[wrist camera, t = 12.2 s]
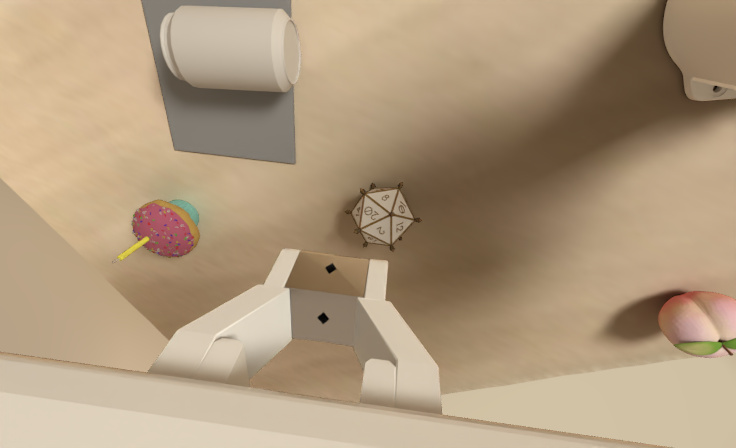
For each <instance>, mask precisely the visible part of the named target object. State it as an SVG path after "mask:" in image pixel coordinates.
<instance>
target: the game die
mask: <svg viewBox="0 0 736 448" xmlns="http://www.w3.org/2000/svg"><path fill="white" fill-rule="evenodd" d="M402 186H403V182H402V183H399V185H398V188H375V187H376V186H375V185H374V184H373V183H372V185H371V187H372V188H373V189H372V190H370V191H368V192H366V193H365V190H364V189H360V193H361V194H363V195H362V197H361V198H360V200H359V201H358V203H357V204H356V205H355V207H354V208H353V210H352V211H350V210H347V211H345V212H346V213H347V214H351V215H352V217H353V219H354V221H355V223H356V225H357V227H358V229H356V230H355V232H354V233H357V234H358V233H359V232H360V233H361V235H362V236H363V238H364V240H365V241H366V242H365V243H364V244H363V248H364V247H367V245H368V243H373V244H381V245H388V246H390V250H391V251H392V252H394V246H393V244H394V243H395V242H396V241H397V240H398V239H399V240H402V237H401V235H402V234H403V233H404V232H405V231H406V230H407V229H408V228H409V227H410V226H411V225H412V224H413V222H414V221H416V222H421V221H422V220H421V219H420V218H416V219H415V218H414V216H413V214H412V212H411V210H410V208H409V206H408V204H407V201H406V200H405V198H404V196H403V194H402V192H401V190H400V188H402Z"/></svg>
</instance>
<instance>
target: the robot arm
mask: <svg viewBox="0 0 736 448" xmlns="http://www.w3.org/2000/svg"><path fill="white" fill-rule="evenodd" d="M663 35H664V41H665V45H666V48H667V51H668V53H669V55H670V57H671V58H672V60H673V61H674V62H675V63H676V65H677V66H678V67H679V68H680V70H681V71H682V74H683V81H684V89H685V93H686V96H687V97H688V98H689V99H691V100H696V101H710V100H722V99H734V98H736V0H668V1H667V4H666V9H665V13H664V21H663ZM714 86H717V88H716V89H715V90H713V88H714ZM369 261H370V262H369ZM387 271H388V261H387V260H377V259H363V258H355V257H347V256H338V255H333V254H326V253H319V252H312V251H306V250H298V249H290V248H284V249H282V250H281V252H280V253H279V255H278V257H277V259H276V261H275V263H274V265H273V267H272V269H271V271H270V273H269V275H268V276H267V278H266V280H265V282H264V284H263V285H260V284H258V285H256V286H254V287H252V288H251V289H249V290H247V291H245V292H243V293H242V294H240V295H238V296H236V297H235V298H233V299H231V300H229V301H228V302H226V303H224V304H222V305H221V306H219V307H217V308H215V309H214V310H212V311H210V312H208V313H207V314H205V315H203V316H201V317H200V318H198V319H196V320H194V321H193V322H191V323H189V324H187V325H185V326H184V327H182V328H180V329H178V330H177V331H176V333H175V334H174V335H173V337H172V338H171V340H170V341H169V343H168V344H167V345H166V347H165V348H164V350H163V351H162V352H161V354H160V355H159V357H158V358H157V359H156V361H155V362H154V363H153V365H152V366H151V368H150V369H149V370H148V372H147V373H146V372H139V371H132V370H124V369H118V368H110V367H104V366H97V365H90V364H82V363H75V362H68V361H61V360H54V359H47V358H40V357H33V356H26V355H19V354H12V353H5V352H0V448H672V447H664V446H657V445H650V444H643V443H636V442H629V441H622V440H615V439H608V438H601V437H595V436H587V435H580V434H573V433H566V432H559V431H553V430H546V429H539V428H531V427H524V426H517V425H511V424H504V423H497V422H489V421H483V420H476V419H468V418H462V417H455V416H448V415H442V407H441V394H440V381H439V369H438V365H437V364H436V363H435V361H434V360H433V359H432V357H431V356H430V355H429V353H428V352H427V351H426V349H425V348H424V346H423V345H422V344H421V342H420V341H419V340H418V338H417V337H416V336H415V334H414V333H413V332H412V330H411V329H410V328H409V326H408V325H407V323H406V322H405V321H404V319H403V318H402V317H401V315H400V314H399V313H398V311H397V310H396V309H395V307H394V306H393V304H392V303H391V302H390V301H385V296H386V283H387ZM292 338H293V339H303V340H312V341H321V342H328V343H334V344H340V345H346V346H352V347H353V349H354V351H355V353H356V356H357V358H358V360H359V362H360V364H361V367H362V369H363V371H364V376H363V383H362V390H361V397H360V403H356V402H349V401H342V400H335V399H328V398H321V397H314V396H307V395H300V394H293V393H286V392H279V391H272V390H265V389H258V388H251V387H250V384H249V379H251V378H252V377H253V376H254V375H255V374H256V373H257V372H258V371H259V370H260V369H261V368H262V367H263V366H265V365H266V364H267V363H268V362H269V361H270V360H271V359H272V358H273V357H274V356H275V355H276V354H278V353H279V352H280V351H281V350H282V349H283V348H284V347H285V346H286V345H287V344H288V343H289V342H291V341H292Z"/></svg>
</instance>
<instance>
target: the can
mask: <svg viewBox="0 0 736 448" xmlns="http://www.w3.org/2000/svg"><path fill="white" fill-rule="evenodd" d="M160 45H161V49H162V53H163V57H164V59H165V61H166V64H167V66H168V68H169V69H170V70H171V72H172V73H173V74H174V75H175V76H176V77H177V78H178V79H180V80H184V81H187V82H188V83H189V84H190V85H192V86H193V87H197V88H210V89H230V90H249V91H269V92H287V91H289V90H290V89H291V87H292V86H293V85H294V84H296V83H297V81H298V78H299V74H300V66H301V49H300V40H299V34H298V30H297V27H296V24H295V22H294V21H293V20H292V19H291V18H290V17H289V16H288V15H287V13H286V12H285V11H284V10H283V9H274V8H245V7H216V6H180V7H179V8H178V9H177V10H176V11H175V12H173V13H168V14H167V15H166V16H165V17H164V19H163V21H162V23H161V28H160Z"/></svg>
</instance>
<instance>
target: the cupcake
mask: <svg viewBox="0 0 736 448" xmlns="http://www.w3.org/2000/svg"><path fill="white" fill-rule="evenodd" d="M132 222H133V223H132V224H133V225H132V226H133V232H134V233H135V236H136V237H137V239H138V241H139V242H137V243H136V244H134V245H133V246H132V247H130V248H129V249H127V250H126V251H125V252H123V253H122V254H120V255H119V256H118V257H117V259H116V260H115V261H113V262H112V263H115V262H116V261H118V260H120V261H122V260H123V259H124V258H126V257H127V256H129V255H130V254H131V253H133V252H134V251H135V250H137V249H138V248H140V247H141V246H144V247H145V248H147V249H148V250H149V251H152V252H153V253H156V254H157V255H161V256H163V257H165V256H166V257H169V258H170V257H179V256H182V255H185V254H187V253H189V252H190V251H191V250H192V249H193V248H194V247H195V246H196V245H197V243H198V241H199V238H200V233H199V230H198V228H197V225H198V222H199V215H198V212H197V211H196V209H195V208H194V207H193V206H192V205H191V204H189V203H187V202H185V201H182V200H173V201H170V202H166V201H163V200H155V201H152V202H149V203H147V204H145V205H143V206H142V207H141V208H139V209H137V211H136V212H135V214H134V215H133V221H132ZM133 232H132V233H133Z"/></svg>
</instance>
